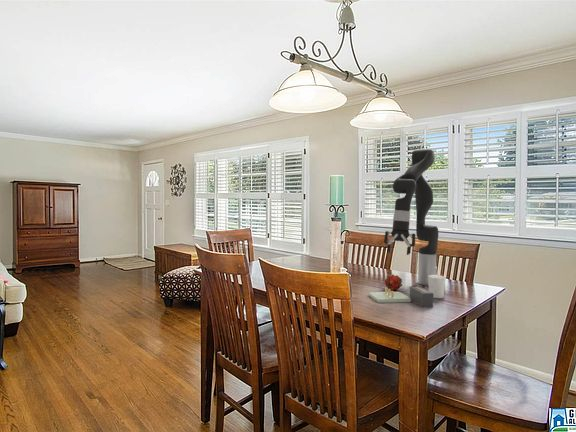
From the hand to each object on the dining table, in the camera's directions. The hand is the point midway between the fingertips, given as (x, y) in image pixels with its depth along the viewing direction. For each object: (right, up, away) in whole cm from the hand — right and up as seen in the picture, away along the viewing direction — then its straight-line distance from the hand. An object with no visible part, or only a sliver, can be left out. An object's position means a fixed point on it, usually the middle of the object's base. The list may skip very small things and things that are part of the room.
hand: (398, 253), depth 175 cm
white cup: (+20, -22, +4) cm, 30 cm away
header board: (-5, -21, -1) cm, 22 cm away
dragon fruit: (+2, -21, +15) cm, 26 cm away
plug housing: (+8, -22, -7) cm, 24 cm away
